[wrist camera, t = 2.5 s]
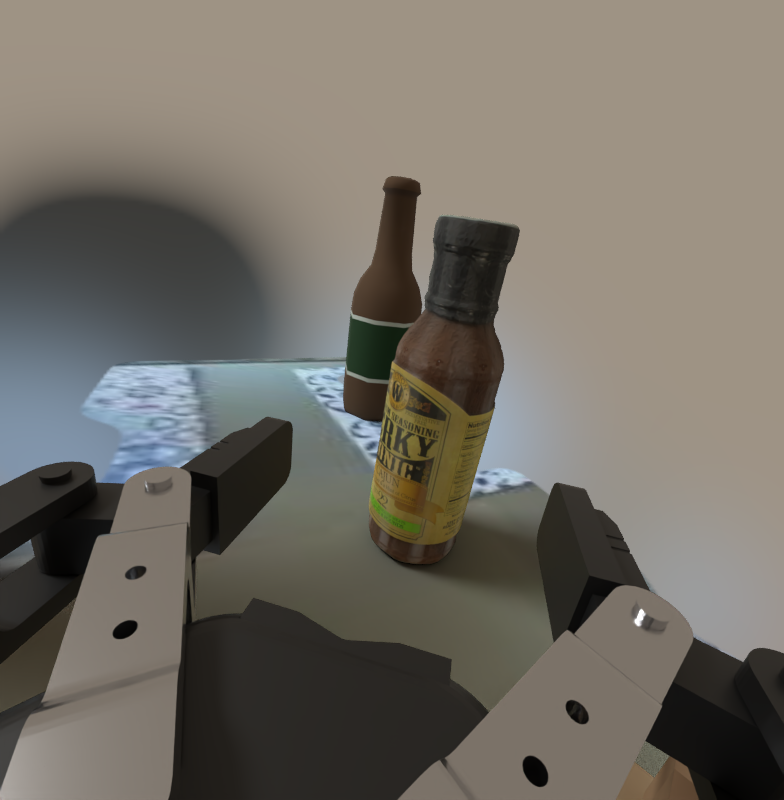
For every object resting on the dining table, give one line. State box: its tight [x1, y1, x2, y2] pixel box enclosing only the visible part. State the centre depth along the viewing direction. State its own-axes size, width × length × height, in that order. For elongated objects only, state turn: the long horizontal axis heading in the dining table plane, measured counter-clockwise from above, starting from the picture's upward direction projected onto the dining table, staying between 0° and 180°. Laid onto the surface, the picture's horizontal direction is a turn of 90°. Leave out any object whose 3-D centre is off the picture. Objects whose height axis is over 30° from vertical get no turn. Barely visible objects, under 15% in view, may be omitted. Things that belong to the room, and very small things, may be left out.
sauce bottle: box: [369, 215, 520, 564], centre depth 23 cm, size 6×6×20 cm
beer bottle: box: [343, 176, 422, 421], centre depth 41 cm, size 8×8×24 cm
